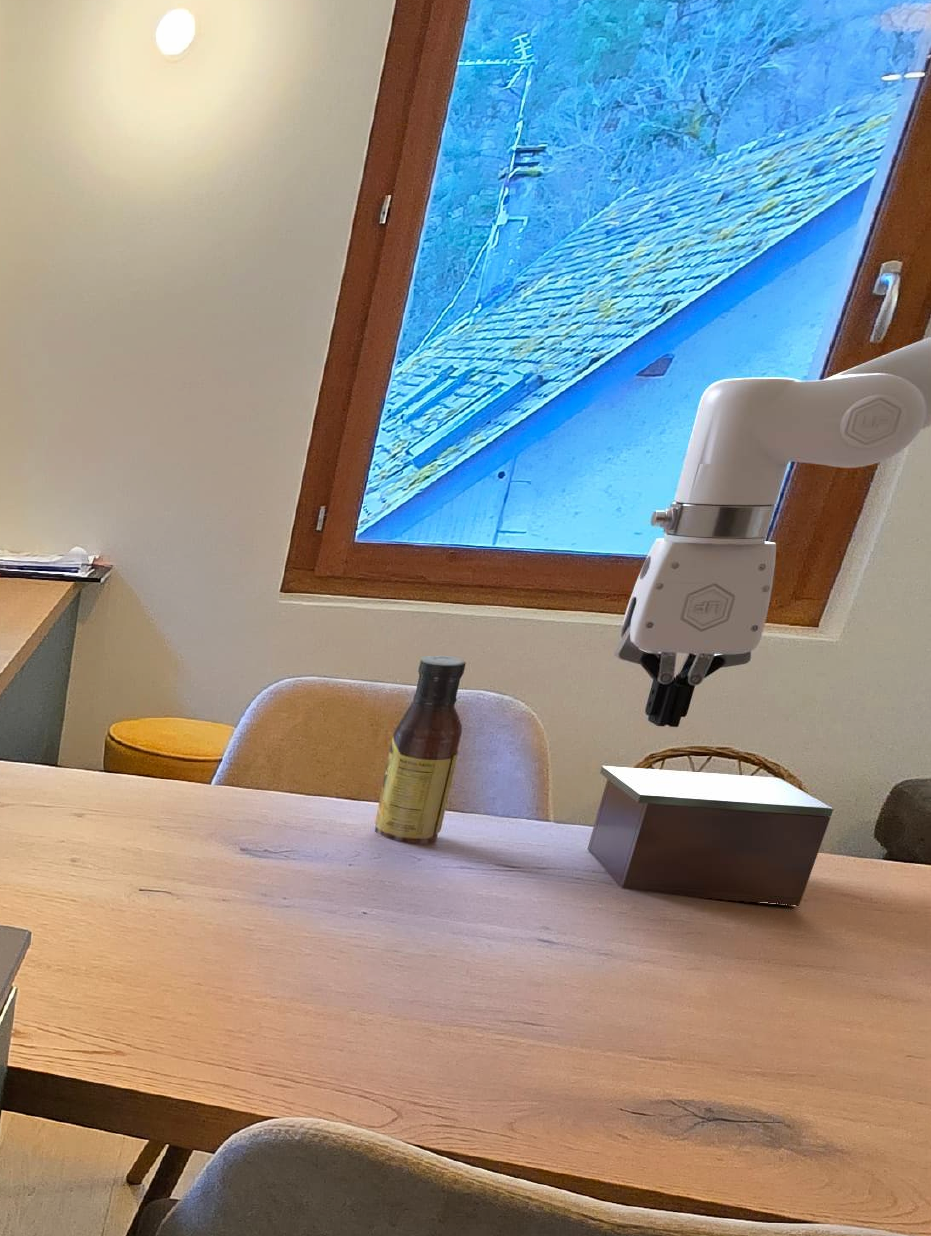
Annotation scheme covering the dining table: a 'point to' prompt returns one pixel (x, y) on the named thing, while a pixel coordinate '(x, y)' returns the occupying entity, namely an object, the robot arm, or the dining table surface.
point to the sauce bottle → (423, 756)
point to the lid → (714, 791)
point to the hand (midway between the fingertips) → (662, 723)
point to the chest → (705, 849)
